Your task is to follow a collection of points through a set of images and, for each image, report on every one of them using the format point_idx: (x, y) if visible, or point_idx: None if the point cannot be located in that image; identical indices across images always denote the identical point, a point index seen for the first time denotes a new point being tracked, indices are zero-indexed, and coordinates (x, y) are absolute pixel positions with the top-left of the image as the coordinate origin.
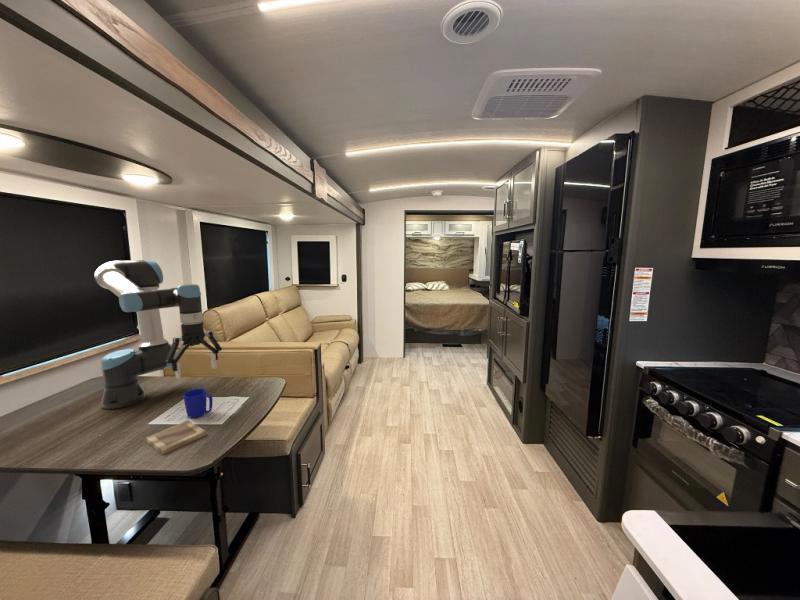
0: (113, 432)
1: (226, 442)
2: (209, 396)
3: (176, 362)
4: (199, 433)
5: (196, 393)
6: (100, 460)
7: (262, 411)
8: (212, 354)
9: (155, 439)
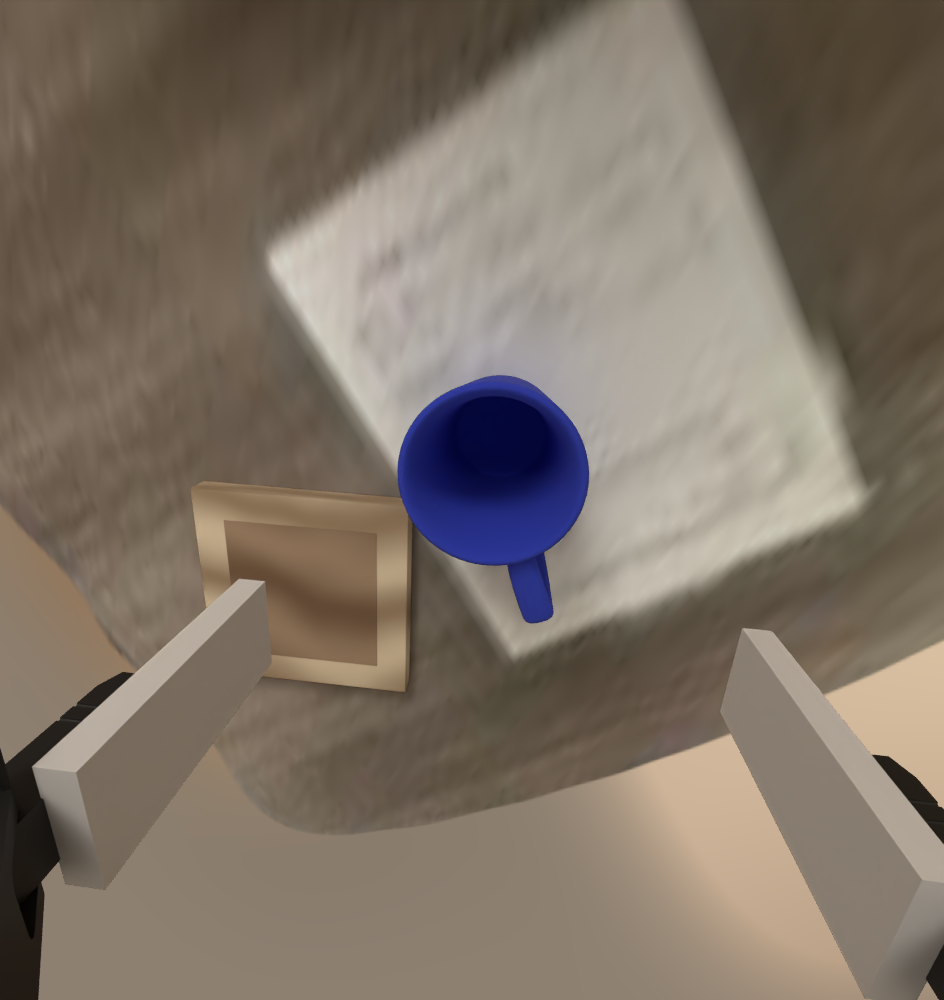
0: (90, 177)
1: (426, 794)
2: (531, 615)
3: (34, 900)
4: (375, 685)
5: (537, 410)
6: (29, 469)
7: (713, 731)
8: (872, 936)
9: (219, 553)
